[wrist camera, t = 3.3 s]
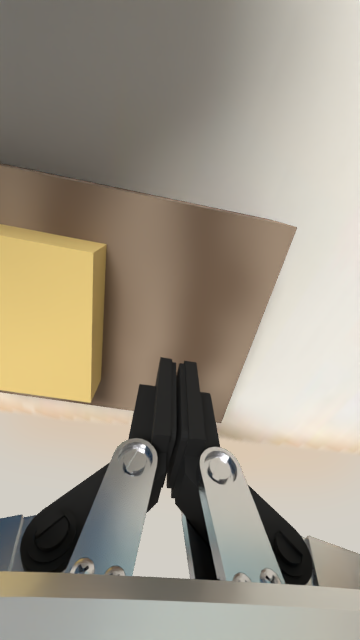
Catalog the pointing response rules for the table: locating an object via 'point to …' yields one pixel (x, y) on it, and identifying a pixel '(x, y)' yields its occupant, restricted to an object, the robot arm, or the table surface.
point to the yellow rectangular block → (51, 314)
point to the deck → (160, 277)
